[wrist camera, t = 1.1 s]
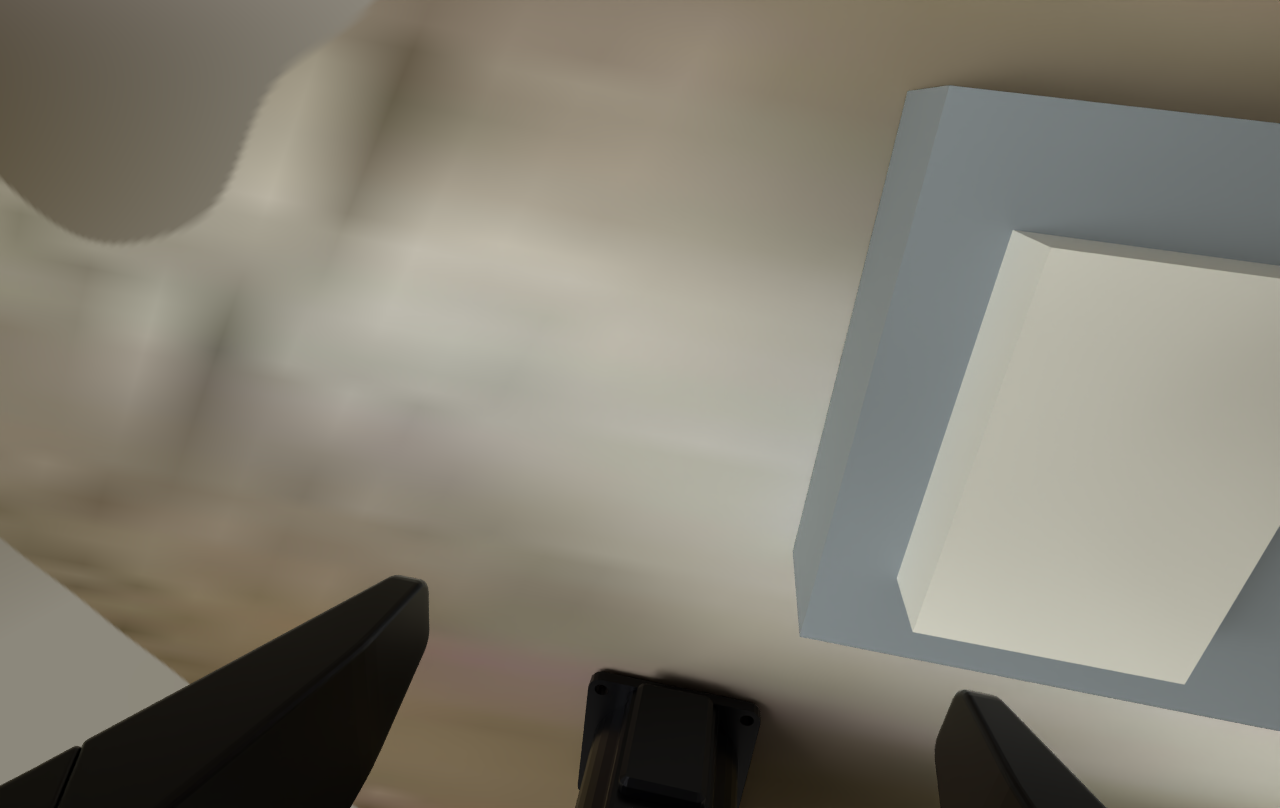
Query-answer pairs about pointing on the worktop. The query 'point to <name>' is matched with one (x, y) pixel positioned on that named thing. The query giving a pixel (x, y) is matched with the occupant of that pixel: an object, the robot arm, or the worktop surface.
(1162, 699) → the light blue flat slab
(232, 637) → the worktop surface
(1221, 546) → the white rectangular block
